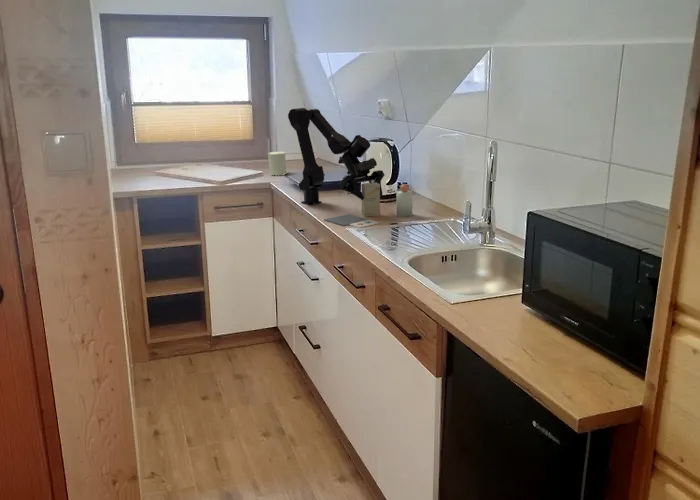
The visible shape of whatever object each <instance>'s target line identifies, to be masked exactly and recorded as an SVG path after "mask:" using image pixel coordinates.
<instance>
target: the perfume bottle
mask: <svg viewBox="0 0 700 500" xmlns="http://www.w3.org/2000/svg"><path fill="white" fill-rule="evenodd" d="M399 188H400V190H397V191H396V194H395V195H396V200H395V201H396V203H395V204H396V216H397V217H401V218H409V217H412V216H413V191H412V190H410V189H409V185H408V184H406V183H403V184H401V185H400V186H399Z"/></svg>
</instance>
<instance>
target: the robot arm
mask: <svg viewBox="0 0 700 500" xmlns="http://www.w3.org/2000/svg"><path fill="white" fill-rule="evenodd" d="M287 118H288V120H289V124H290V127H292V128H293V130H294V131H295V132H296V135H297V140H298V145H299V148H300V152H301V156H302V160H303V164H304V165H303V169H302V180H301V181H300V182H299V184H298V188H299V190H300V191H303V201H302V200H301V202H300V203H301V204H305V205H309V206H311V205H316V204H322V203H323V201H321V200H320V195H319V194H320V193H319V188H322V187H323V185H324V184H323V183H324V181H325V176H326V175H325V173H324V166H322V165H320V166H319V164H318V163H317V160H316V157H315V152H314V148H313V144H312V140H311V136H310V131H309V127H310V122H311V123H312V124H313V125H314V127H316V129H317V130H318V131H319V132H320V133H321V135H322V136H323V137H324V138H325V140H326V141H327V146H328V148H329V150H330V151H331V153H333V155H342V156H339V159H338V162H337V163H338V164H343V165H344V166H345V168H346V170H347V171H346V174H347V175H344V176H343V177H342V179H341V180H340V182H339V188H340V190H341V191H345V192H347V193H349V194H352V195H353V196H355V197H357V198H358V199H360V201H362V200H363V199H364V197H363V194H362V190H361V189H360V187H359V186H358V183H359V184H360V183H361V184H362V183H367V182H368V183H378V184H380V197H382V196H383V189H382V180H383V178H384V177H385V176H386V174H385V173H384V171H383V170H381V169H379V170H374V171H372V173H371V170H372V169H375V168H376V167H377V165H378V163H377V161H376V159H375V158H373V157H371V158H369V159H368V160H367V159H366V160H362V161H360V159H359V158H362V157H363V156H364V155H365V153H366V152H367V151H368V149H369V148H370V147H371V142H370V141H369V140H368V139H366V138H365V137H362V136H361V135H360V134H357V135H355V136H354V138H353V139H352V141H350V140H349V139H348V138H347V137H345V135H343V134H341V133H339V132H337V131H336V129H335V128H334V127H333V126H332V124H330V122H329V121H327V119H326V118H325V117H324V115H323V114H322V113H321V111H320V110H319V109H317V108H312V109H306V108H305V107H300V108H291V109H290V110H289V111H288V113H287ZM370 173H371V174H370Z"/></svg>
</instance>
